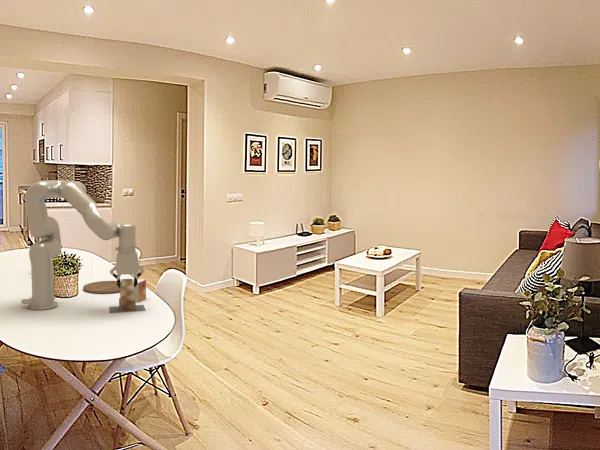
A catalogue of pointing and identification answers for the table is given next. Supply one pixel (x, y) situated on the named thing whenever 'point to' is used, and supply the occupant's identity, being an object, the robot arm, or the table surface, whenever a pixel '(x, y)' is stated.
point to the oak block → (127, 295)
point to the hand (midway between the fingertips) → (127, 286)
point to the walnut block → (127, 305)
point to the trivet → (102, 287)
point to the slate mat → (117, 310)
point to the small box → (140, 290)
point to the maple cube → (126, 285)
